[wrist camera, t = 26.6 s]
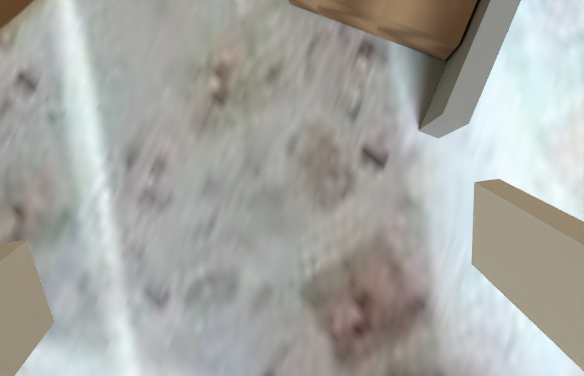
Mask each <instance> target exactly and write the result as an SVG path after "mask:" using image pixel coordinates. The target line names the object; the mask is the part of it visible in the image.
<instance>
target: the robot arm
mask: <svg viewBox="0 0 584 376" xmlns="http://www.w3.org/2000/svg"><path fill="white" fill-rule="evenodd" d="M472 265H473V266H474V267H476V268H477V269H478V270H479V271H480V272H481V273H482V274H483V275H484V276H485V277H486V278H487V279H488V280H489V281H490V282H491V283H492V284H493V285H494V286H495V287H496V288H497V289H498V290H500V291H501V292H502V293H503V294H504V295H505V296H506V297H507V298H508V299H509V300H510V301H511V302H512V303H513V304H514V305H515V306H516V307H517V308H518V309H519V310H520V311H521V312H522V313H524V314H525V315H526V316H527V317H528V318H529V319H530V320H531V321H532V322H533V323H534V324H535V325H536V326H537V327H538V328H539V329H540V330H541V331H542V332H543V333H544V334H545V335H546V336H548V337H549V338H550V339H551V340H552V341H553V342H554V343H555V344H556V345H557V346H558V347H559V348H560V349H561V350H562V351H563V352H564V353H565V354H566V355H567V356H568V357H569V358H570V359H572V360H573V361H574V362H575V363H576V364H577V365H578V366H579V367H580V368H581V369H582V370H583V371H584V222H583V221H581V220H579V219H577V218H575V217H573V216H571V215H569V214H567V213H565V212H563V211H561V210H559V209H557V208H555V207H553V206H551V205H549V204H547V203H545V202H544V201H542V200H540V199H538V198H536V197H534V196H532V195H530V194H528V193H526V192H524V191H522V190H520V189H518V188H516V187H514V186H512V185H510V184H508V183H506V182H504V181H502V180H500V179H496V180H488V181H480V182H474V211H473V239H472ZM53 323H54V320H53V317H52V314H51V311H50V308H49V305H48V302H47V299H46V296H45V293H44V290H43V287H42V284H41V281H40V278H39V275H38V272H37V269H36V266H35V263H34V260H33V257H32V254H31V251H30V248H29V245H28V242H27V240H24V241H17V242H9V243H1V244H0V376H14V375H15V374H16V373H17V371H18V370H19V369H20V367H21V366H22V365H23V363H24V362H25V361H26V359H27V358H28V357H29V355H30V354H31V353H32V351H33V350H34V349H35V347H36V346H37V345H38V343H39V342H40V341H41V339H42V338H43V337H44V335H45V334H46V333H47V331H48V330H49V328H50V327H51V326H52V324H53Z"/></svg>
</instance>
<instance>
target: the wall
mask: <svg viewBox="0 0 584 376" xmlns="http://www.w3.org/2000/svg"><path fill="white" fill-rule="evenodd" d="M520 1H521V0H477V2H476V5H475V7H474V9H473V12H472V14H471V17H470V19H469V21H468V24H467V26H466V29H465V31H464V33H463V36H462V38H461V40H460V43H459V45H458V46H457V47H456V48H455V49H454V51H453V52H452V53H451V54H450V57H449V59H448V61H447V64H446V66H445V69H444V71H443V73H442V76H441V78H440V81H439V83H438V85H437V88H436V90H435V93H434V95H433V97H432V100H431V102H430V105H429V107H428V109H427V112H426V114H425V116H424V119H423V121H422V124H421V126H420V128H419V131H421V132H423V133H426V134H429V135H431V136H434V137H436V138H440V137H442V136H444V135H446V134H448V133H450V132H452V131H455V130H457V129H459V128H461V127H463V126H465V125H467V124H469V122H470V119H471V117H472V115H473V112H474V110H475V107H476V105H477V103H478V100H479V98H480V96H481V93H482V91H483V89H484V86H485V84H486V81H487V79H488V77H489V74H490V72H491V70H492V67H493V65H494V62H495V60H496V58H497V55H498V53H499V51H500V48H501V46H502V44H503V41H504V39H505V36H506V34H507V32H508V29H509V27H510V25H511V22H512V20H513V18H514V15H515V13H516V10H517V8H518V6H519V3H520Z"/></svg>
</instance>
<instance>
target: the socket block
mask: <svg viewBox="0 0 584 376" xmlns="http://www.w3.org/2000/svg"><path fill="white" fill-rule="evenodd" d="M289 2H290V4H292V5H294V6H297V7H300V8H303V9H305V10H308V11H311V12H314V13H316V14H319V15H322V16H324V17H327V18H330V19H333V20H335V21H338V22H341V23H344V24H346V25H349V26H352V27H354V28H357V29H360V30H363V31H365V32H368V33H371V34H374V35H376V36H379V37H382V38H384V39H387V40H390V41H393V42H395V43H398V44H401V45H404V46H406V47H409V48H412V49H414V50H417V51H420V52H423V53H425V54H428V55H431V56H434V57H436V58H439V59H442V60H444V61H445V60H446V59H447V58H448V56H449V55H450V54H451V53H452V52H453V51H454V49H455V48H456V47H457V46H458V45H459V43H460V40H461V38H462V36H463V33H464V31H465V29H466V26H467V24H468V21H469V19H470V17H471V14H472V12H473V9H474V7H475V5H476V2H477V0H289Z"/></svg>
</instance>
